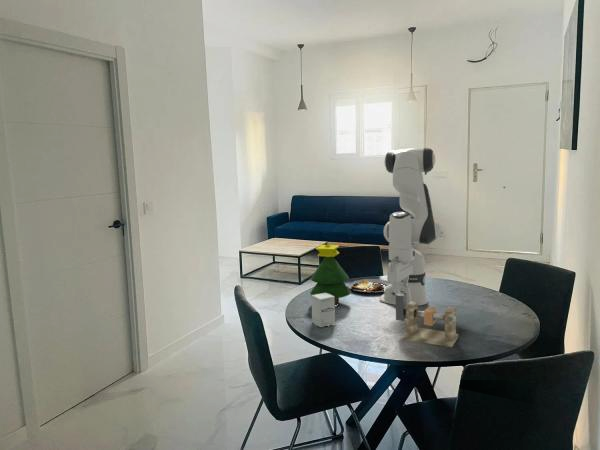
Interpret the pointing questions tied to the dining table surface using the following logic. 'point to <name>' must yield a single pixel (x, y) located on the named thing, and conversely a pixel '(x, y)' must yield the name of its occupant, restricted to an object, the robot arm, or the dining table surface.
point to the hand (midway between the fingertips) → (400, 289)
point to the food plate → (368, 285)
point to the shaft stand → (427, 334)
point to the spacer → (429, 316)
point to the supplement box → (323, 309)
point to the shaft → (401, 310)
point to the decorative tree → (330, 274)
